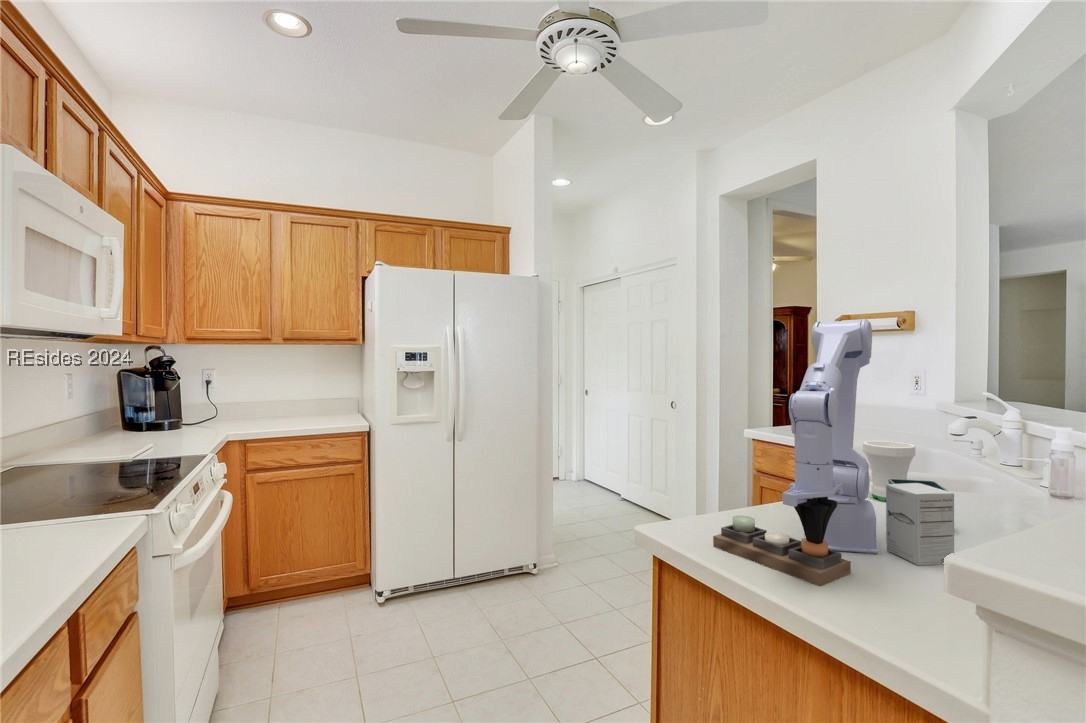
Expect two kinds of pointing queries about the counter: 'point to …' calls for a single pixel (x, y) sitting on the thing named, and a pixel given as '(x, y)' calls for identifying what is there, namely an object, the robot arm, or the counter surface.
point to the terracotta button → (814, 548)
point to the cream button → (777, 538)
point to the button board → (782, 555)
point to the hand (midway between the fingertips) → (814, 542)
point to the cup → (887, 463)
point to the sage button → (743, 523)
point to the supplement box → (919, 522)
